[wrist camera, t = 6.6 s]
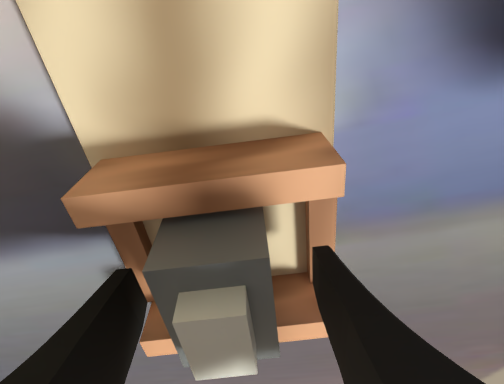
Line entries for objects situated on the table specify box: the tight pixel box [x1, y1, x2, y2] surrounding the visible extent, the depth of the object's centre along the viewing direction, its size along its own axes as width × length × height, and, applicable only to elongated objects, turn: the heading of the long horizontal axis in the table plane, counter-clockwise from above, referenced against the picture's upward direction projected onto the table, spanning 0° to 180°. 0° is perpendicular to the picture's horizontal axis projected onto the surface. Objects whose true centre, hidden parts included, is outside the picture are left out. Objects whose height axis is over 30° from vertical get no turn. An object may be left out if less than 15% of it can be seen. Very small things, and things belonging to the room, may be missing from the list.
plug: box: [142, 206, 280, 380], centre depth 11 cm, size 4×5×6 cm
